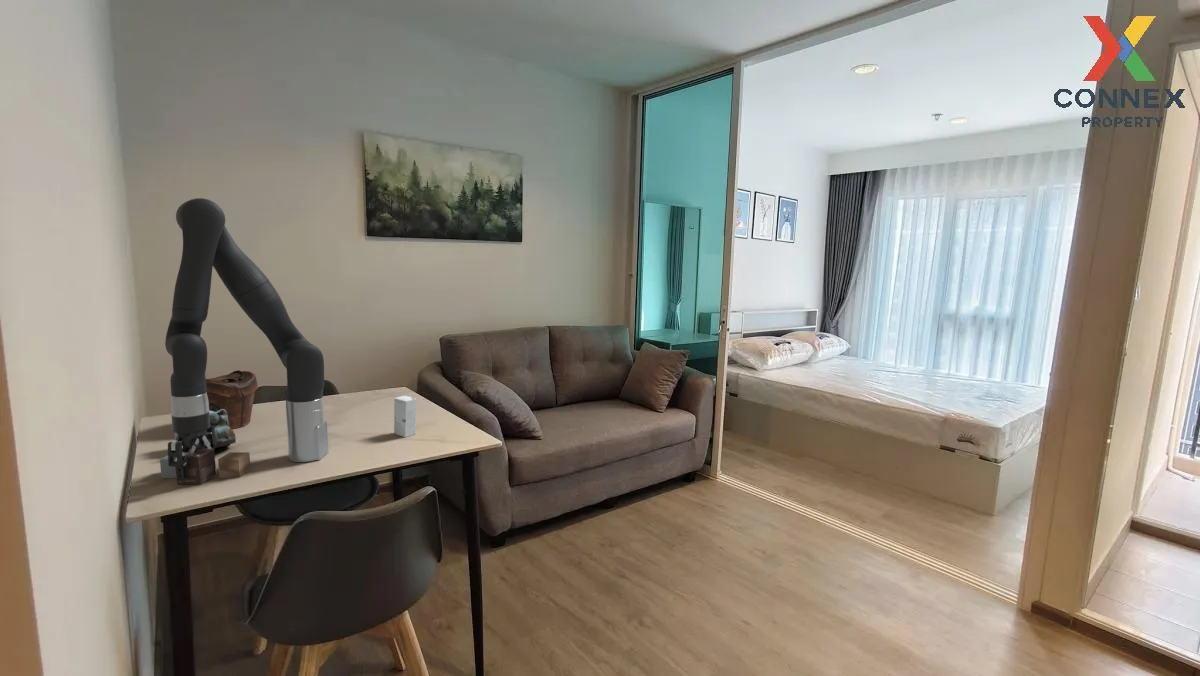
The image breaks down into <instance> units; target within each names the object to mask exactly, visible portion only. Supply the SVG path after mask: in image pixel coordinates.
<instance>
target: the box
mask: <svg viewBox="0 0 1200 676" xmlns="http://www.w3.org/2000/svg"><path fill="white" fill-rule="evenodd" d="M183 453H188V452H183ZM184 458H185V457H182V461H184ZM175 459H176V457H174V460H175ZM187 465H188V473H189V479H188V480H186V481H179V480H178V479H177V471H176V478H175V479H176V484H177V485H203V484H204V483H206V482H207V481H209V480H211V479H212V478H214V477H215V476H217V468H216V467H217V466H216V465H217V464H216V457H215V449H198V450H196V451H195V452H194V454H193V456H192V457H191V458H190V459H189V462H188V464H187ZM175 469H176V467H175Z"/></svg>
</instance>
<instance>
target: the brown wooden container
mask: <svg viewBox="0 0 1200 676" xmlns="http://www.w3.org/2000/svg"><path fill="white" fill-rule="evenodd" d="M206 387H207V396H208V401H209V408H210V407H213V406H214V407H216V408H217V410H218V411H219V410H221V409H224V410H226V411H227V415H228V422H229V426H230V428H231V429H232V430H234V429H238V428H239V429H240V428H243V427H245V426H247V425H249V424H251V423H250V422H251V420H252V419H251V417H252V410H253V405H254V399H255V393H256V391H257V389H258V387H259V385H258V381H257V377H256V374H255V373H253V371H250V370H249V371H248V370H247V371H246V370H240V369H239V370H234V371H232V372H230V373H229V374H225V375H220V376H216V377H210V378H206Z"/></svg>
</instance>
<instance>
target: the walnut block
mask: <svg viewBox="0 0 1200 676" xmlns="http://www.w3.org/2000/svg"><path fill="white" fill-rule="evenodd" d="M250 453H251V452H247V451H246V452H245V451H243V452H239V451H238V452H237V451H236V452H234V451H231V452H228V453H226V454H225V455H223V456H221V457H220V458H218V459H217V464H218V475H219V476H218V477H219V478H223V479H224V478H229V479H231V478H232V479H233V478H235V479H236V478H242V477H243V476H244V475H246V474H248V472H249V471H251V470H252V469H251V457H250Z"/></svg>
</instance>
